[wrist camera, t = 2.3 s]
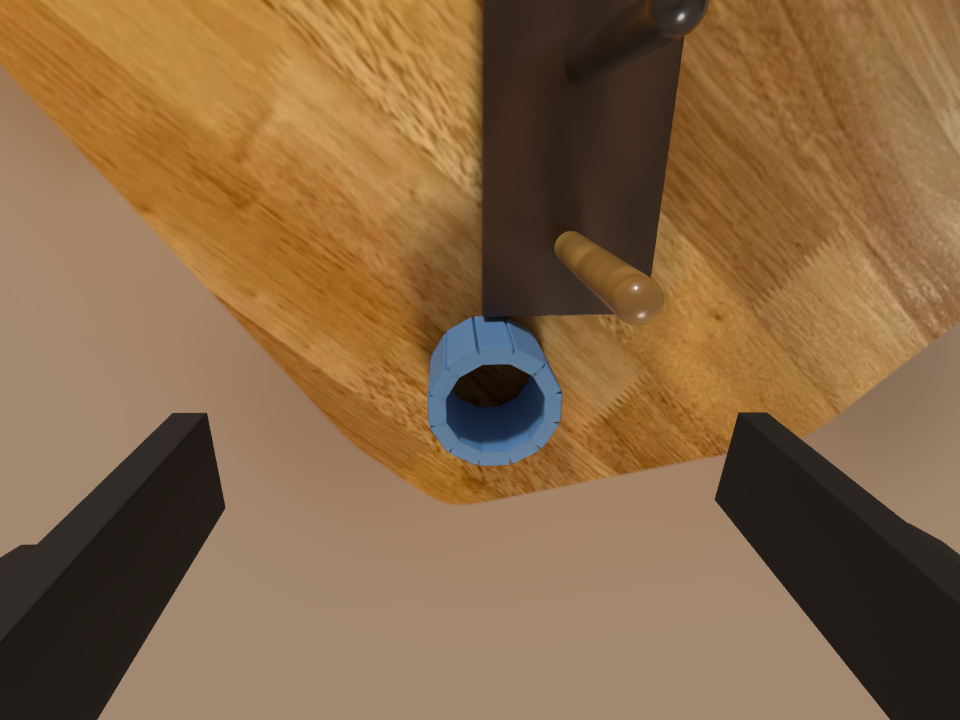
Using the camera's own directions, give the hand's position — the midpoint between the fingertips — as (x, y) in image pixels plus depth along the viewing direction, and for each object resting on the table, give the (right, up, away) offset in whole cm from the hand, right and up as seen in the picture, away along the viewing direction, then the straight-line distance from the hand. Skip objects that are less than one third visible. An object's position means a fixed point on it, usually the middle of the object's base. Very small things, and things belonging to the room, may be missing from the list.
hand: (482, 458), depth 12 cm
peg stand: (+6, +15, +18) cm, 24 cm away
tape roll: (+1, +2, +23) cm, 23 cm away
